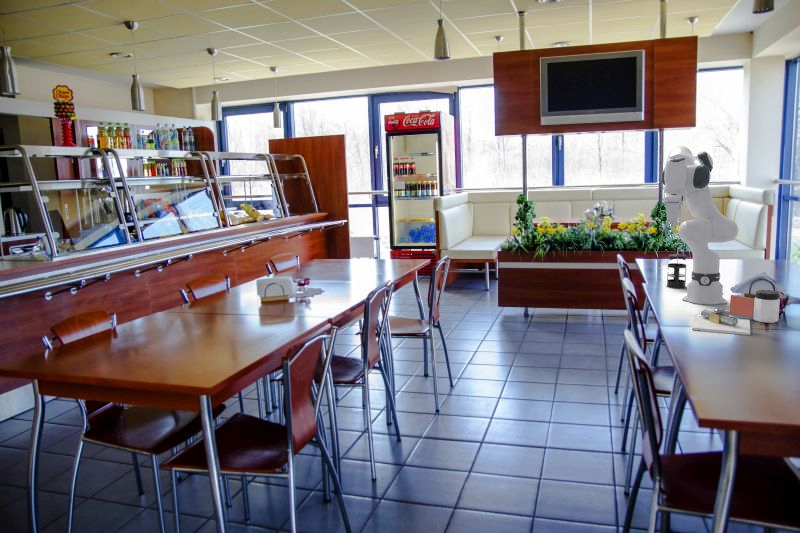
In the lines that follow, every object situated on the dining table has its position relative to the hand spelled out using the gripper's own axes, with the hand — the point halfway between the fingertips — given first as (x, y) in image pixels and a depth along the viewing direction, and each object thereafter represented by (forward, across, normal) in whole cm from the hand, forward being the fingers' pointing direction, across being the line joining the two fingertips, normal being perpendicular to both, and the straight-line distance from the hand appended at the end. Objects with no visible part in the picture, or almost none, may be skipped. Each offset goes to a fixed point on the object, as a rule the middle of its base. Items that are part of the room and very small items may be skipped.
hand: (673, 229), depth 264 cm
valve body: (+37, +8, +19) cm, 42 cm away
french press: (+37, -72, -3) cm, 81 cm away
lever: (+32, +11, +24) cm, 42 cm away
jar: (+37, -6, +36) cm, 52 cm away
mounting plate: (+37, +11, +20) cm, 44 cm away
